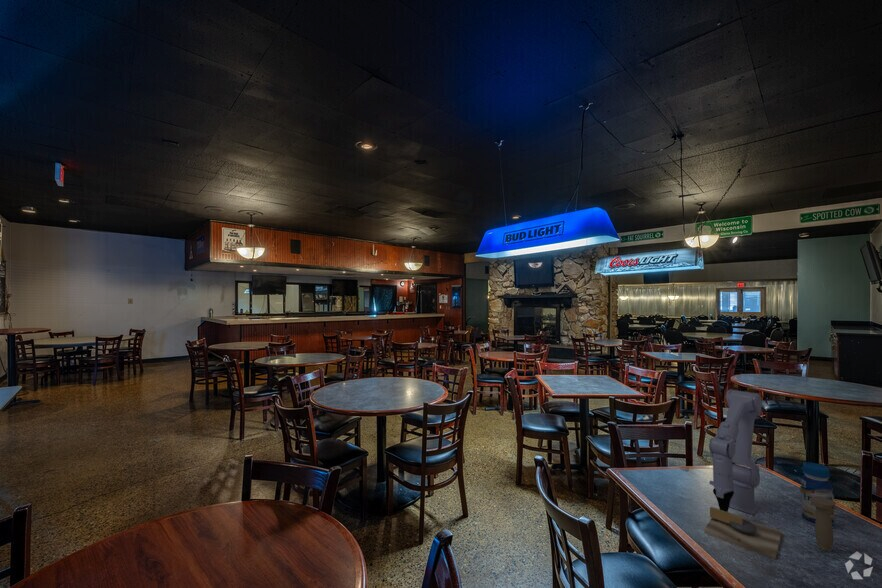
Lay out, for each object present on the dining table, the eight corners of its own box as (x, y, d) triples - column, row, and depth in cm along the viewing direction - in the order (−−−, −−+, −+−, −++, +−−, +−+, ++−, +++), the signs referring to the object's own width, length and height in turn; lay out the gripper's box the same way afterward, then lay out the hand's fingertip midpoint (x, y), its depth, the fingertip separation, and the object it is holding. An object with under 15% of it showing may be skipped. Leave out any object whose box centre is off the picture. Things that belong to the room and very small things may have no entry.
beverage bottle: (833, 522, 131) (831, 465, 131) (836, 532, 125) (833, 473, 125) (800, 513, 136) (798, 458, 137) (801, 523, 130) (799, 466, 131)
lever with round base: (757, 527, 124) (757, 518, 124) (754, 536, 119) (754, 526, 119) (712, 512, 133) (712, 503, 133) (708, 519, 128) (708, 511, 128)
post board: (716, 512, 137) (716, 507, 137) (781, 534, 124) (781, 528, 124) (704, 533, 125) (704, 527, 125) (775, 559, 111) (775, 552, 111)
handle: (841, 552, 115) (839, 503, 115) (827, 555, 113) (825, 506, 114) (822, 542, 119) (820, 496, 120) (808, 546, 118) (806, 498, 118)
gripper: (713, 463, 140) (714, 499, 140) (705, 475, 130) (706, 514, 130) (736, 469, 135) (737, 506, 135) (730, 482, 125) (731, 522, 125)
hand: (724, 510), depth 132 cm, fingers closed
